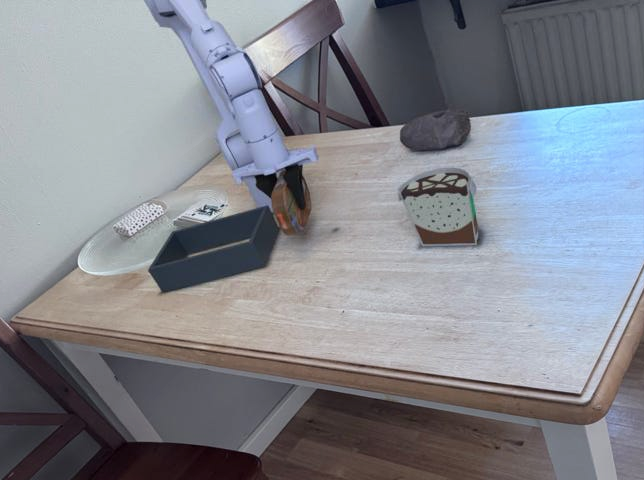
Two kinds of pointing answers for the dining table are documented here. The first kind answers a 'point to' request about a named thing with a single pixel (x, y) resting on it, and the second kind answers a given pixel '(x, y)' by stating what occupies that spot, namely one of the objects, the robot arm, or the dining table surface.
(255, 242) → the bin
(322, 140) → the dining table surface
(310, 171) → the dining table surface
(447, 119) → the perforated stone tool
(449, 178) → the food container
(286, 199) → the tin
